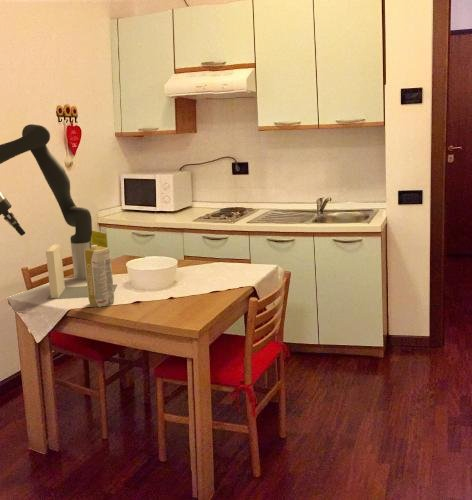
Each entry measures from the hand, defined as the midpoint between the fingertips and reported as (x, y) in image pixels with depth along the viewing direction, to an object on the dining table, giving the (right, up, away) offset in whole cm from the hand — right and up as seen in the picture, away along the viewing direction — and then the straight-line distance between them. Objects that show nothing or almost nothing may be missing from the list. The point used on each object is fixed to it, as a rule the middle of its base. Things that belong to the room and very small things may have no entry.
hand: (22, 233), depth 267 cm
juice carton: (+35, -29, -9) cm, 46 cm away
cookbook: (+13, -25, +8) cm, 29 cm away
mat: (+23, -25, +8) cm, 35 cm away
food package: (+24, -18, +42) cm, 52 cm away
